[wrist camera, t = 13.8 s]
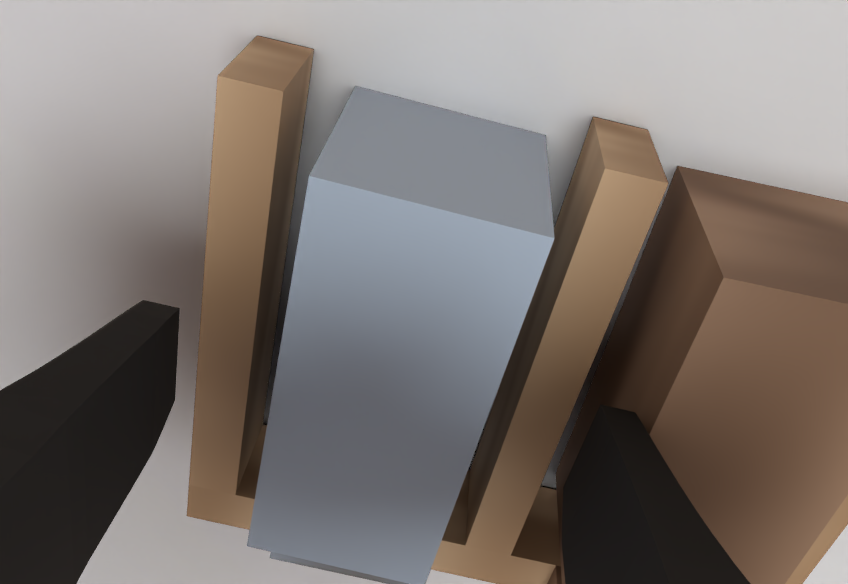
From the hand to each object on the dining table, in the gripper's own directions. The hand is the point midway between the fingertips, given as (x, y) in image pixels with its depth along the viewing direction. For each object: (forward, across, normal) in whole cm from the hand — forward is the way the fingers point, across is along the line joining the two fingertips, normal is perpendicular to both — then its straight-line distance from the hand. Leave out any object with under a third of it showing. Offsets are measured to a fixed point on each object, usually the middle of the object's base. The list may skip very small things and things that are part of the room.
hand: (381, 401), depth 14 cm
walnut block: (+4, -6, 0) cm, 7 cm away
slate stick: (+4, 0, 0) cm, 4 cm away
